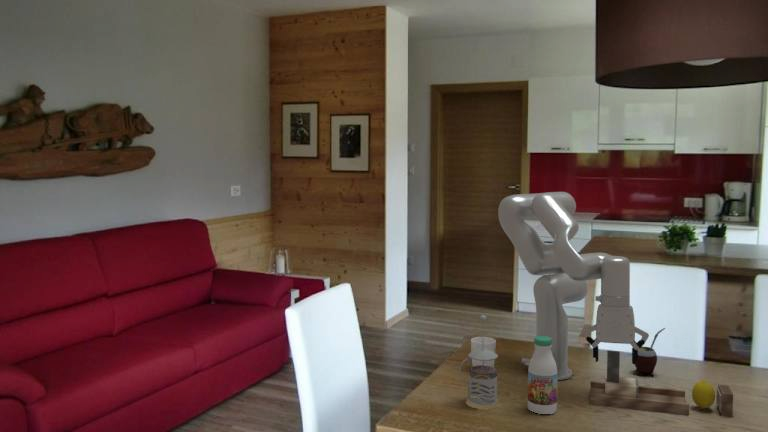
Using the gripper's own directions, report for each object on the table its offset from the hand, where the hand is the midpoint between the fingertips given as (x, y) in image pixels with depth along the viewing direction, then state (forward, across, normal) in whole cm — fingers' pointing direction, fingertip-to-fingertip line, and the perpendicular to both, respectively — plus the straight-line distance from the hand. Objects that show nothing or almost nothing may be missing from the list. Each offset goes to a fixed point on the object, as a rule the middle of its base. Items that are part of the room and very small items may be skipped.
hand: (615, 361), depth 180 cm
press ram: (+10, +2, +1) cm, 10 cm away
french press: (+11, -36, -13) cm, 39 cm away
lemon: (+12, +22, +1) cm, 25 cm away
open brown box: (+12, +28, +1) cm, 30 cm away
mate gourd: (+11, +9, +26) cm, 30 cm away
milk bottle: (+11, -19, -13) cm, 25 cm away
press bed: (+11, +6, +1) cm, 13 cm away
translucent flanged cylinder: (+10, -40, +14) cm, 43 cm away
